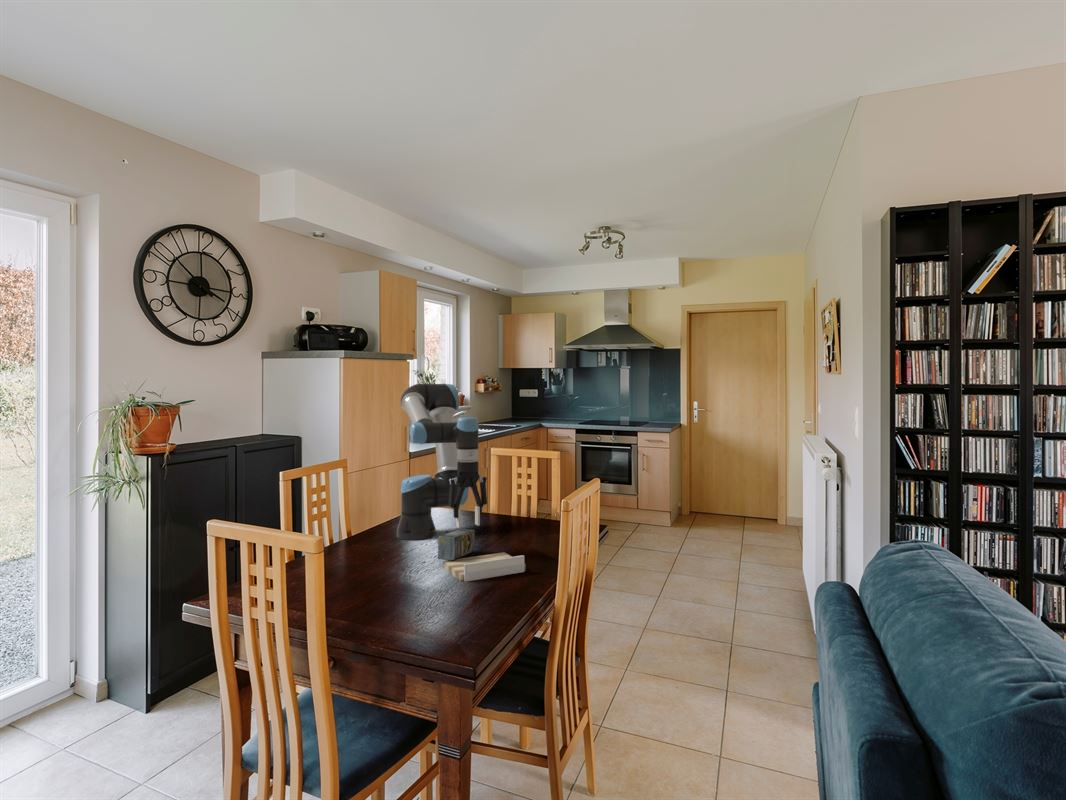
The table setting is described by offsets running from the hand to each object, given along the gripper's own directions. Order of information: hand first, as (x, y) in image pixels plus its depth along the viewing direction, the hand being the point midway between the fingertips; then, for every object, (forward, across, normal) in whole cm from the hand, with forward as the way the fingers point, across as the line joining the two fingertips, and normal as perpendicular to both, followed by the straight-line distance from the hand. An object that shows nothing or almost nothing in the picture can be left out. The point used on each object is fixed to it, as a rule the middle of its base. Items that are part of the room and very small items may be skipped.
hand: (468, 525), depth 195 cm
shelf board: (+10, -2, -19) cm, 22 cm away
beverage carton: (+11, 0, 0) cm, 11 cm away
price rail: (+10, -2, -28) cm, 29 cm away
